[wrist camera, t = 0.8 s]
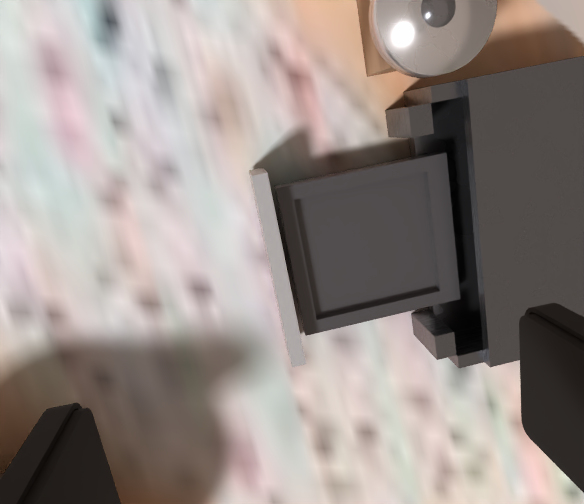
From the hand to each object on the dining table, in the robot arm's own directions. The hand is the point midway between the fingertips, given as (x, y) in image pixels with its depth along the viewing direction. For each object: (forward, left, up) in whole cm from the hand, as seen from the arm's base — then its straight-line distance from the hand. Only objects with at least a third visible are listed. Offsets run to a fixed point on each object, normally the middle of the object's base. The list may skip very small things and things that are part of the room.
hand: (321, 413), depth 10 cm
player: (+4, +19, -25) cm, 32 cm away
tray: (+4, +7, -25) cm, 26 cm away
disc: (-10, +12, -20) cm, 26 cm away
